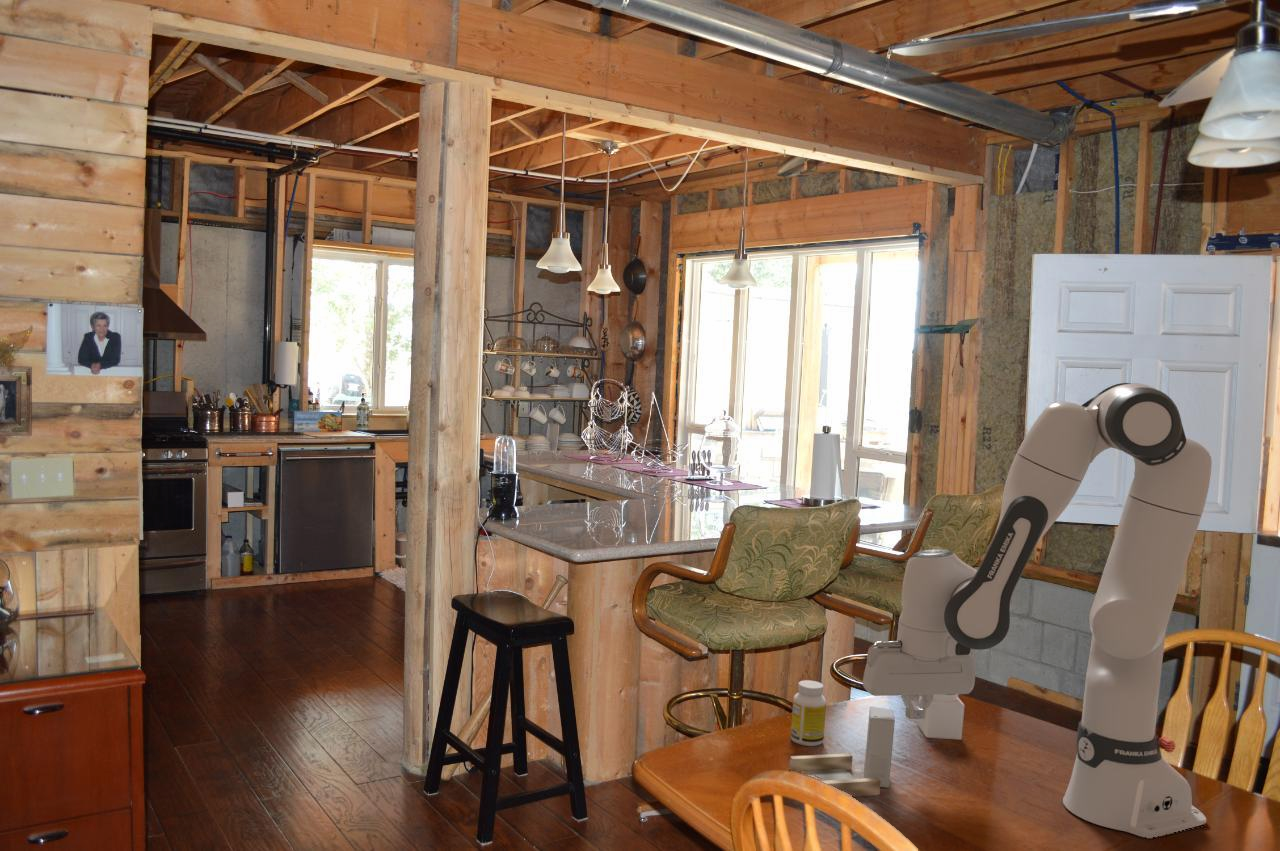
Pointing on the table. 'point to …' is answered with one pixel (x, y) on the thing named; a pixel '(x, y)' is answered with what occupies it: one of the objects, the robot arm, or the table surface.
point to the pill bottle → (808, 714)
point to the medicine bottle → (943, 717)
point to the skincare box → (879, 745)
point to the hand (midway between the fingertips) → (915, 717)
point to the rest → (835, 773)
